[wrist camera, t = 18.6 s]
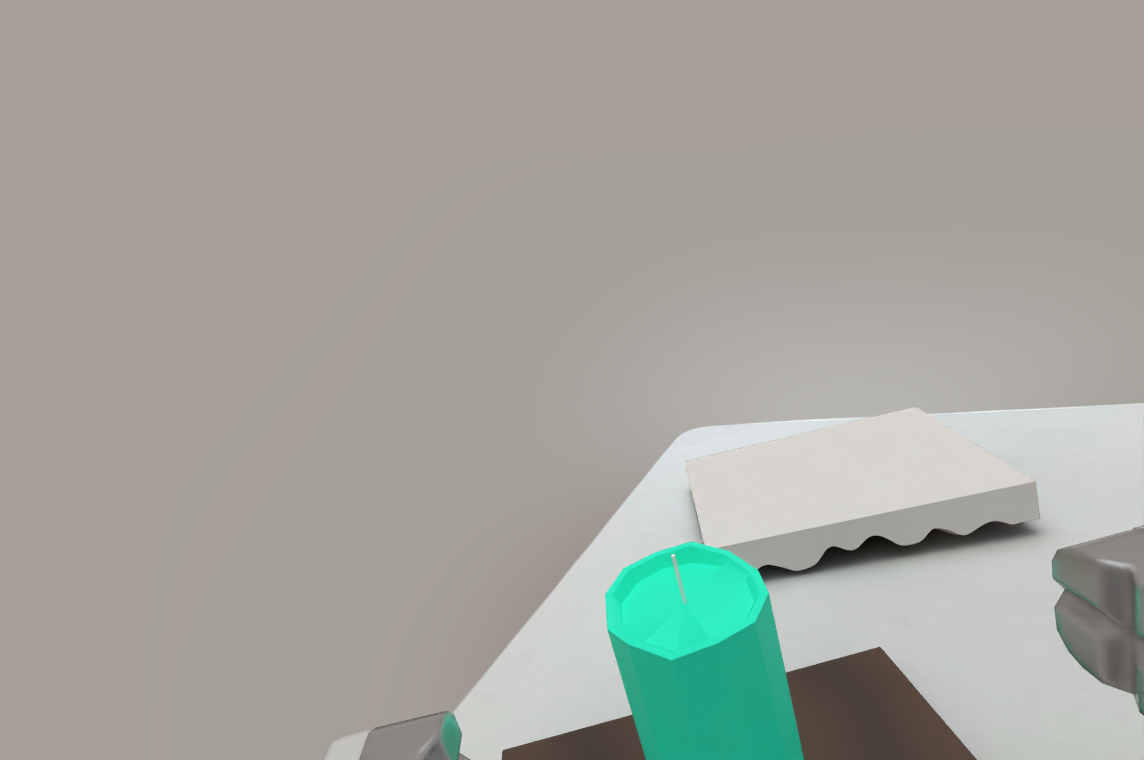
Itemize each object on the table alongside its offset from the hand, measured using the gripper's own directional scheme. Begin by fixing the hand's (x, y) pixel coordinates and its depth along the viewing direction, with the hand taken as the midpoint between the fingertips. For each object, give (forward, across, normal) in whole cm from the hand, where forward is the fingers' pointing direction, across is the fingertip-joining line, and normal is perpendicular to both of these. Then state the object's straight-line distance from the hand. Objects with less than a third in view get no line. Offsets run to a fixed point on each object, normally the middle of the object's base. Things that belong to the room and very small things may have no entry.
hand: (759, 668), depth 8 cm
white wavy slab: (+33, -15, +19) cm, 41 cm away
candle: (+12, -1, +18) cm, 22 cm away
